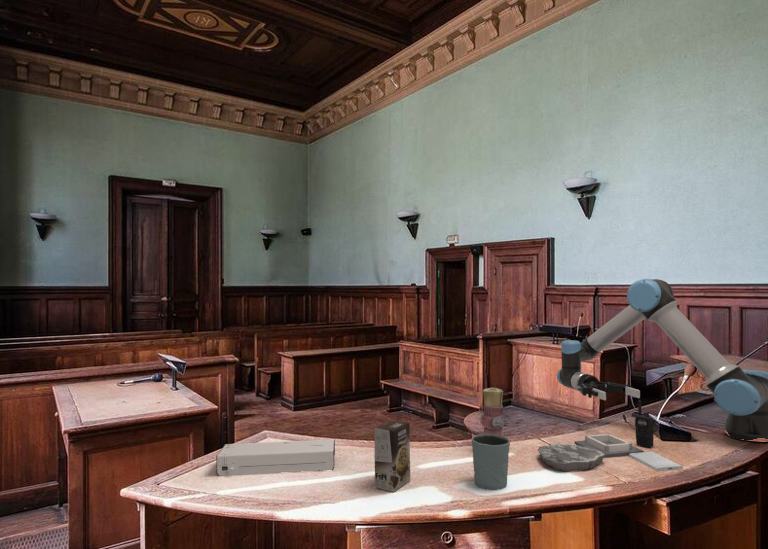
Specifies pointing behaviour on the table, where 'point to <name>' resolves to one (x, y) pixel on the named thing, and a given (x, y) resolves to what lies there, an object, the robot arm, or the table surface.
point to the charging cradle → (609, 445)
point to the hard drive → (655, 461)
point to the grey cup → (490, 460)
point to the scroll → (492, 411)
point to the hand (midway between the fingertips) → (622, 395)
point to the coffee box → (392, 455)
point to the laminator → (275, 457)
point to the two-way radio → (643, 428)
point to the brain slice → (570, 457)
